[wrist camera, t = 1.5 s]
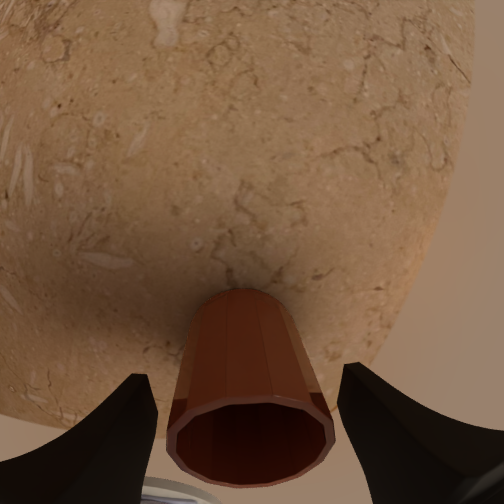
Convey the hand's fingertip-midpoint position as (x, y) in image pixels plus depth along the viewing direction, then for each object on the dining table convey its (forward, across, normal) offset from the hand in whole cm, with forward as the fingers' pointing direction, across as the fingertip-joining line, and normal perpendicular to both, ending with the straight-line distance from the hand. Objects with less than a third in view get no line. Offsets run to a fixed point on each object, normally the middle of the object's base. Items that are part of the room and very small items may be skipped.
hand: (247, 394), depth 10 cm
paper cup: (+4, 0, 0) cm, 4 cm away
